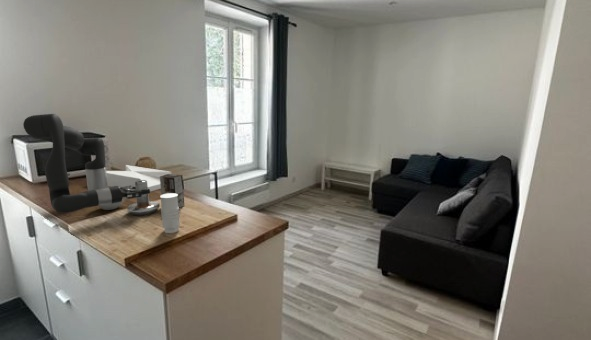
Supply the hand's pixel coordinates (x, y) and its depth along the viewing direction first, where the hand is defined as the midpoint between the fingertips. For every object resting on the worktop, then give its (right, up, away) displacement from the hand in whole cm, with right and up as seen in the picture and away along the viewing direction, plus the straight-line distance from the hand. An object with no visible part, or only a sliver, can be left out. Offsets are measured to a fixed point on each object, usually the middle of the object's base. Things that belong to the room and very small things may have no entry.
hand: (146, 189), depth 150 cm
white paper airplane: (-32, -1, +50) cm, 60 cm away
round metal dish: (-1, -11, +1) cm, 11 cm away
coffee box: (+9, -10, +10) cm, 16 cm away
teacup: (-19, -10, +6) cm, 22 cm away
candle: (+20, -16, -21) cm, 33 cm away
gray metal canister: (-1, -8, 0) cm, 8 cm away
